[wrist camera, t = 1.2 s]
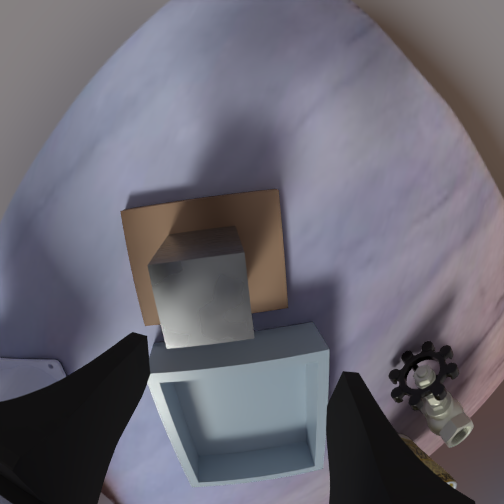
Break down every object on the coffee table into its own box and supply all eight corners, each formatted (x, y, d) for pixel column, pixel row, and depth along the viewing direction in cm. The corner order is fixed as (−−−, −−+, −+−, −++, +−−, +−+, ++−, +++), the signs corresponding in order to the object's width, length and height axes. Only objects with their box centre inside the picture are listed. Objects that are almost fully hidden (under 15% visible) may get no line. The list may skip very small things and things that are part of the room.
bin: (192, 456, 26) (191, 487, 22) (153, 342, 22) (144, 373, 18) (312, 439, 27) (322, 468, 23) (312, 321, 23) (329, 349, 19)
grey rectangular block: (179, 296, 20) (166, 348, 14) (168, 234, 19) (147, 265, 13) (242, 288, 21) (254, 338, 14) (235, 225, 20) (244, 252, 13)
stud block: (147, 319, 22) (137, 345, 18) (124, 209, 20) (106, 218, 16) (285, 302, 22) (297, 326, 19) (275, 188, 20) (288, 193, 17)
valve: (456, 388, 28) (429, 328, 25) (486, 420, 22) (471, 364, 19) (413, 425, 29) (375, 375, 26) (438, 461, 22) (408, 420, 19)
